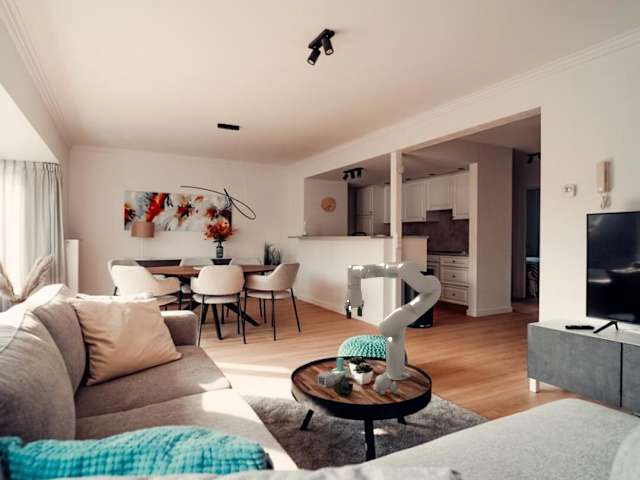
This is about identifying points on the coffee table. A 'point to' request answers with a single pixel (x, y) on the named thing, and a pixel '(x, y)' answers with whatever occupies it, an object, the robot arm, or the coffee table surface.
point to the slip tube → (339, 367)
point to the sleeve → (326, 379)
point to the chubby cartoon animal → (384, 385)
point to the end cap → (343, 386)
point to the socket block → (343, 372)
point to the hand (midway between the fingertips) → (354, 317)
